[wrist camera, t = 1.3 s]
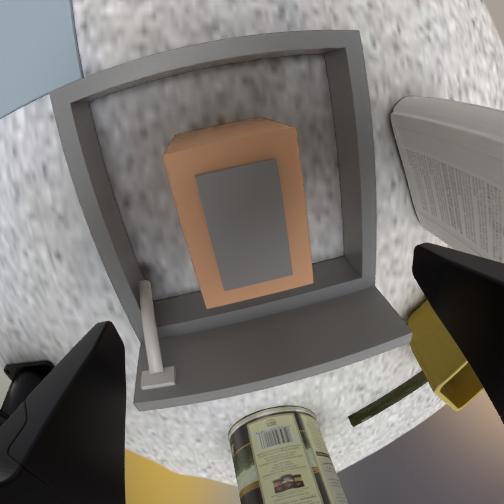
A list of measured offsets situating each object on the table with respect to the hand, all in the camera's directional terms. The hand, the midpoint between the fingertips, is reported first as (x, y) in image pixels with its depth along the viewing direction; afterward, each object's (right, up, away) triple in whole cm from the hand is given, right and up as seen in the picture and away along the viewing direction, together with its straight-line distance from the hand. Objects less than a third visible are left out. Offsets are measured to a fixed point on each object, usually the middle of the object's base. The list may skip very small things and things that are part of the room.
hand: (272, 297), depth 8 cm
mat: (-16, +15, +3) cm, 22 cm away
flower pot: (+17, -4, +19) cm, 26 cm away
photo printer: (+12, +8, +12) cm, 19 cm away
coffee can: (+2, -19, +24) cm, 30 cm away
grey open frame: (-2, +5, +10) cm, 12 cm away
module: (-2, +5, +10) cm, 12 cm away
